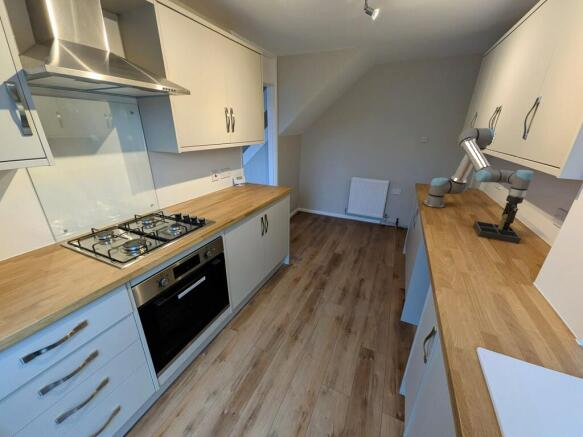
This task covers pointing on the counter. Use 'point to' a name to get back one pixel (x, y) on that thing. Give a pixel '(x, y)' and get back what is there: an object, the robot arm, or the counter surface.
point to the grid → (496, 232)
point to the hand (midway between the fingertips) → (502, 230)
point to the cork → (502, 222)
